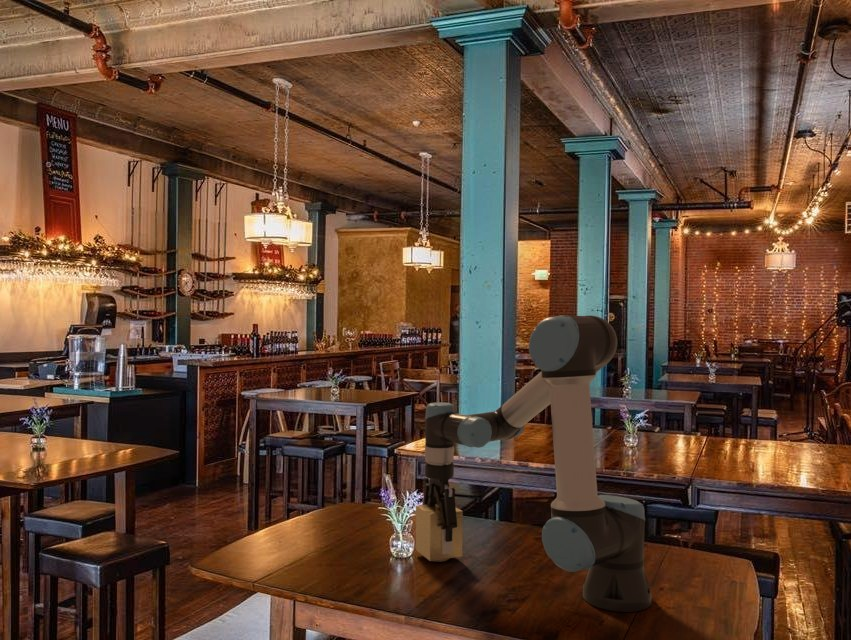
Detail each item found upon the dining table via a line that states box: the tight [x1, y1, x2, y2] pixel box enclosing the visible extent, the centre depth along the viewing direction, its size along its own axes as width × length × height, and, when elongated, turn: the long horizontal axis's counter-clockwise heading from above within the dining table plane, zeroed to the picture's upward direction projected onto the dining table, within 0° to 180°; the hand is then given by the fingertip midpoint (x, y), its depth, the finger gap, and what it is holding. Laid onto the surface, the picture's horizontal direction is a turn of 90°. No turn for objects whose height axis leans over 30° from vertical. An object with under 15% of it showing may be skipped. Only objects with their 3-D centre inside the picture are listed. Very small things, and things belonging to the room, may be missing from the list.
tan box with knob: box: [415, 503, 464, 562], centre depth 194 cm, size 9×9×13 cm
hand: (438, 547), depth 194 cm, fingers closed on tan box with knob, 9 cm apart
